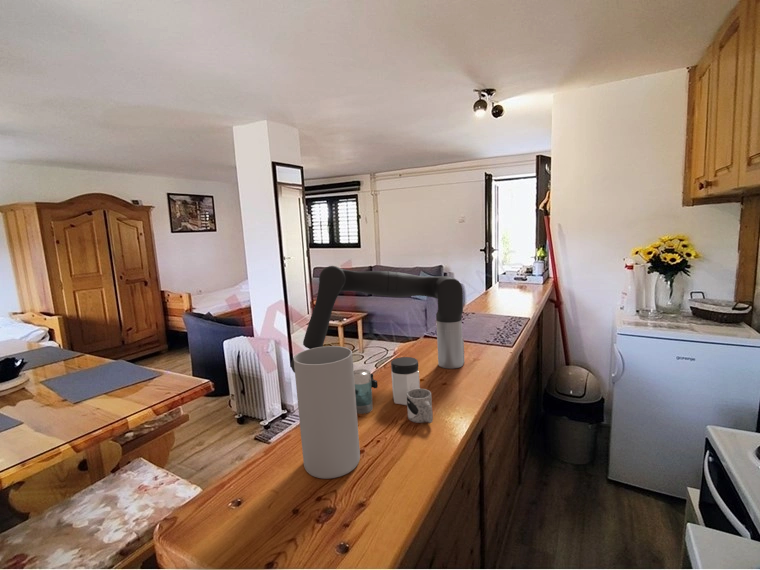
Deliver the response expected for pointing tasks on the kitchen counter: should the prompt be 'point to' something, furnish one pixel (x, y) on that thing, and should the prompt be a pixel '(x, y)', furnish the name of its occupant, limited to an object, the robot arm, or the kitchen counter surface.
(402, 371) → the jar
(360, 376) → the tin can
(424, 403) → the mug
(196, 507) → the kitchen counter surface
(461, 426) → the kitchen counter surface
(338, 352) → the cylinder vase
